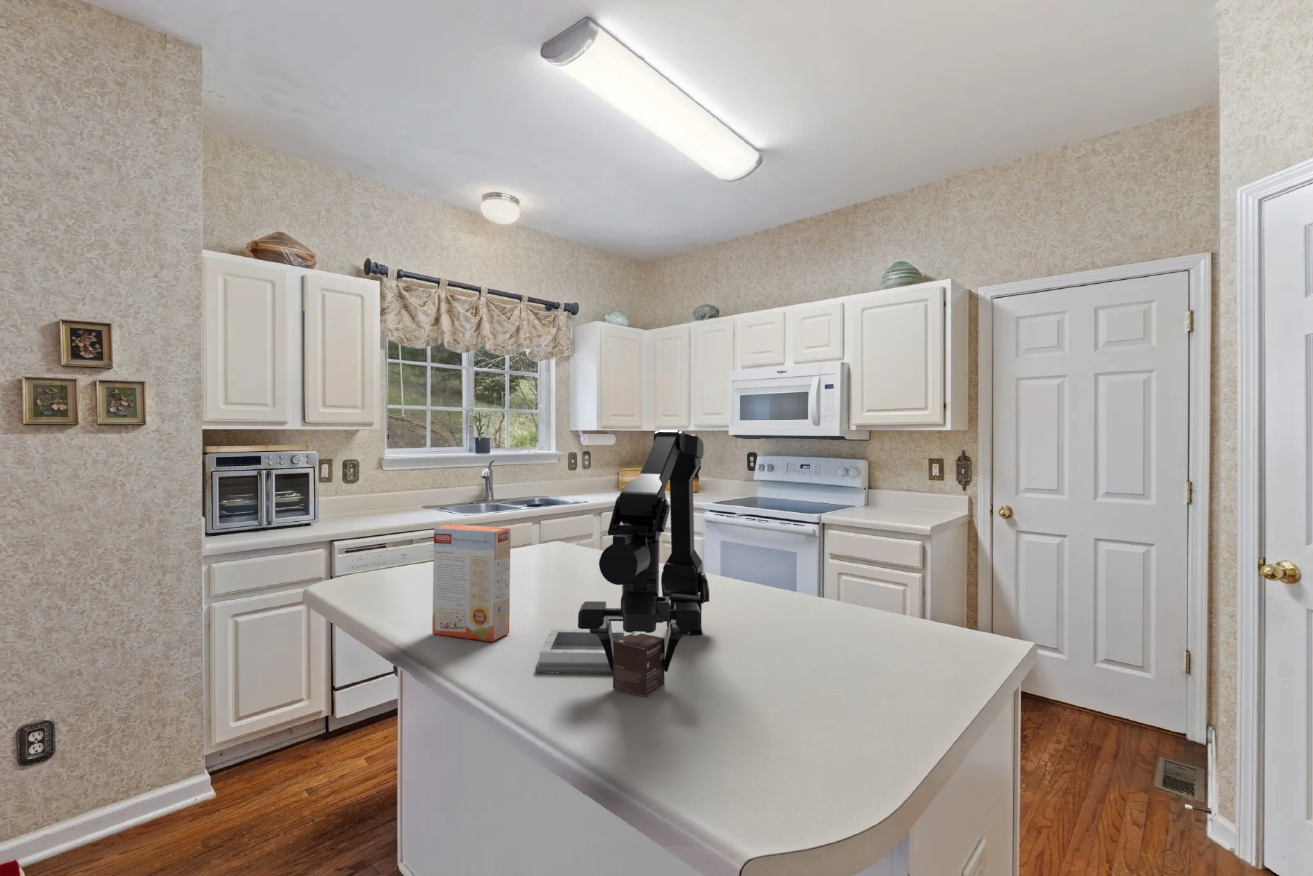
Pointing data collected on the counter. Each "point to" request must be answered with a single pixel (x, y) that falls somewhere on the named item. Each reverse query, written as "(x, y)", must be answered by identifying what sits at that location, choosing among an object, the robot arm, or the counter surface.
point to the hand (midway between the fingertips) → (639, 670)
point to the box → (639, 663)
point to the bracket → (575, 652)
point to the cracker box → (471, 582)
